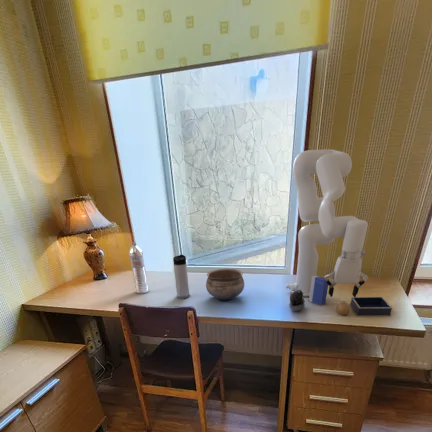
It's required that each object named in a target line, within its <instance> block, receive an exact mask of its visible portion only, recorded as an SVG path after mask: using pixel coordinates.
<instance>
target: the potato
mask: <svg viewBox="0 0 432 432" xmlns="http://www.w3.org/2000/svg"><path fill="white" fill-rule="evenodd" d="M335 310H336V312H337V314H338V315H340V316H347V315H348V314H349V312H350V311H351V307H350V304H348V303H347V302H346V301H345V300H340V301H338V302H336V305H335Z"/></svg>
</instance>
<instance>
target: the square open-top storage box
mask: <svg viewBox="0 0 432 432" xmlns="http://www.w3.org/2000/svg"><path fill="white" fill-rule="evenodd" d="M349 306H351V308H352V310H353V311H354V312H355V313H356V316H360V317H361V316H362V317H363V316H364V317H365V316H370V317H371V316H391V312H392V309H393V307H392V306H391V305H390V303H388V301H387V300H386V299H385V298H384V297H383V296H356V297H354V296H352V297H351V299H350V304H349Z"/></svg>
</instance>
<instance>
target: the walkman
mask: <svg viewBox="0 0 432 432" xmlns="http://www.w3.org/2000/svg"><path fill="white" fill-rule="evenodd" d="M328 291H329V285H328V284H327V282H326V280H325V277H323V276H319V275H316V276H312V282H311V289H310V296H308V298H309V299H308V301H309V302H310V303H314V304H317V305H319V306H322V305H325V304H326V302H327V296H328Z"/></svg>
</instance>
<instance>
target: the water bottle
mask: <svg viewBox="0 0 432 432" xmlns="http://www.w3.org/2000/svg"><path fill="white" fill-rule="evenodd" d="M131 244H132V246H131V247H130V249H129V250H128V255H129V260H130V265H131V272H132V278H133V283H134V289H135V293H137V294H142V295H143V294H146V293H149V283H148V278H147V272H146V266H145V261H144V255H143V253H144V252H143V249H141V248H140V247H139V246H138V245H137V242H132V243H131Z"/></svg>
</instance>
